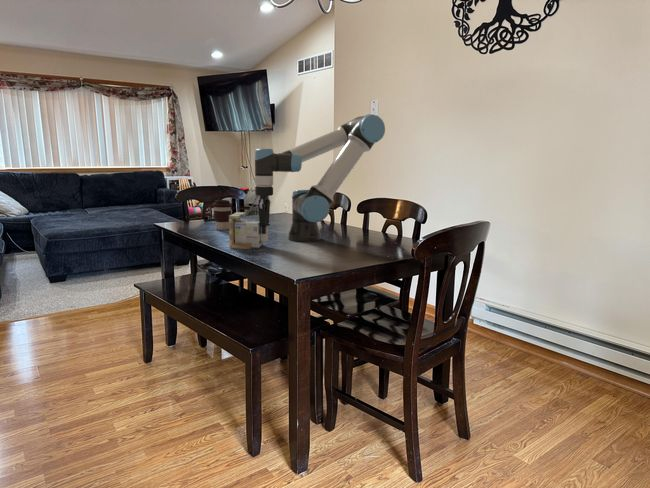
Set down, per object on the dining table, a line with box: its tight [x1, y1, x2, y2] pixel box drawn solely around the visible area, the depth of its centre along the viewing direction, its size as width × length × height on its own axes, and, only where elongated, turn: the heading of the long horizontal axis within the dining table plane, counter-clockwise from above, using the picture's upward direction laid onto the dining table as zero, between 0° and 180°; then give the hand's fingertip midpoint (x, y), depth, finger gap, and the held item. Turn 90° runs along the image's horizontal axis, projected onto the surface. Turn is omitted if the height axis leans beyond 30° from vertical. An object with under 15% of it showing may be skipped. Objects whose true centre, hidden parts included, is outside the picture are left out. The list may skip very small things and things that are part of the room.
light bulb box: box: [235, 220, 263, 249], centre depth 195 cm, size 11×7×11 cm, turn 85°
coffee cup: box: [211, 199, 233, 231], centre depth 236 cm, size 10×10×15 cm
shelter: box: [228, 211, 252, 250], centre depth 196 cm, size 12×9×14 cm
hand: (264, 240), depth 196 cm, fingers closed
